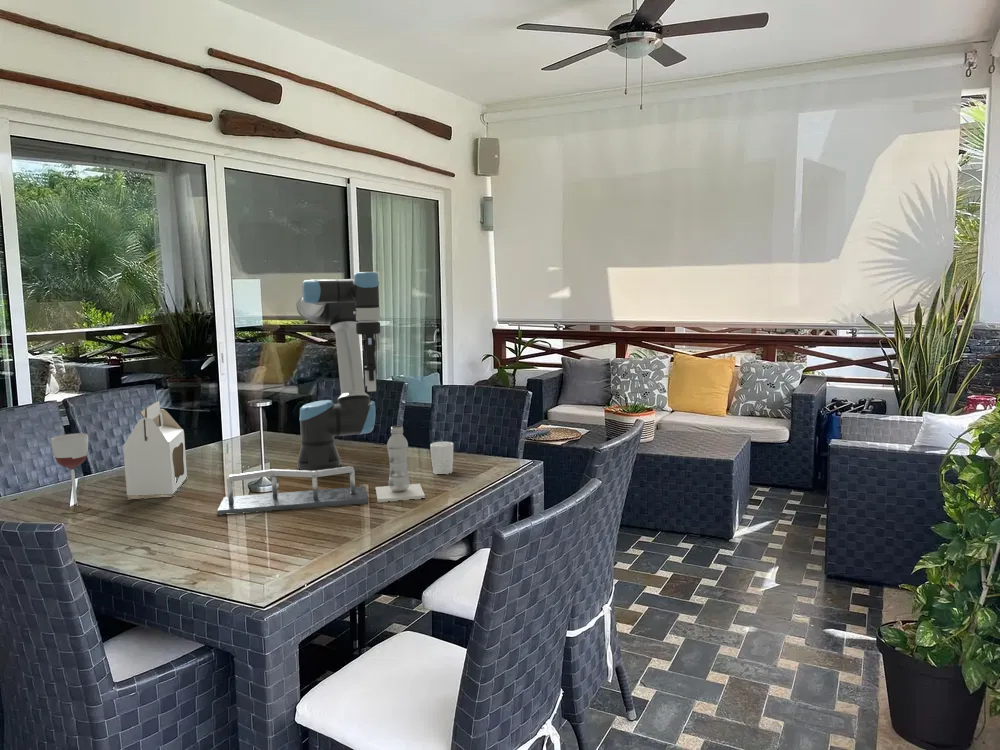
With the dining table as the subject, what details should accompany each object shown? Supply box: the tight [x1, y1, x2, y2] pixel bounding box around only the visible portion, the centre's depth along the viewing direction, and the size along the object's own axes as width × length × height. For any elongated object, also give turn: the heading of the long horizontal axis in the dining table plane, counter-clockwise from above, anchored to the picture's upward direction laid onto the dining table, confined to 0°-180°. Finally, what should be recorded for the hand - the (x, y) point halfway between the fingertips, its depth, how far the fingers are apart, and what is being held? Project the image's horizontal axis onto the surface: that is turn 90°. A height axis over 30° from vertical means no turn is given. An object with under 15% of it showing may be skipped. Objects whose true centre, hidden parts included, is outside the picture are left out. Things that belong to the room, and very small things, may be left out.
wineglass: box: [51, 432, 89, 505], centre depth 216 cm, size 9×10×22 cm
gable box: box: [122, 400, 188, 496], centre depth 236 cm, size 22×13×28 cm, turn 12°
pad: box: [375, 483, 426, 503], centre depth 226 cm, size 14×14×1 cm
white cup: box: [429, 441, 454, 475], centre depth 252 cm, size 8×8×10 cm
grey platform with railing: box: [216, 465, 369, 514], centre depth 219 cm, size 14×42×10 cm, turn 103°
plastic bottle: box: [386, 425, 411, 492], centre depth 225 cm, size 6×7×20 cm
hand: (370, 388), depth 234 cm, fingers open, 13 cm apart
